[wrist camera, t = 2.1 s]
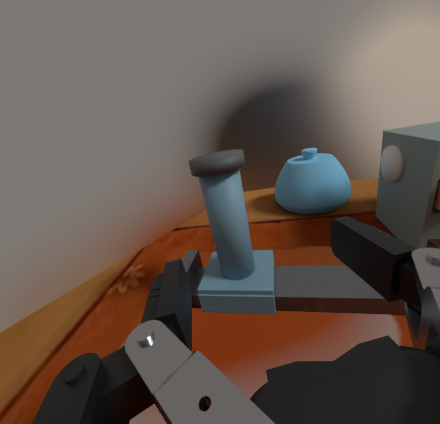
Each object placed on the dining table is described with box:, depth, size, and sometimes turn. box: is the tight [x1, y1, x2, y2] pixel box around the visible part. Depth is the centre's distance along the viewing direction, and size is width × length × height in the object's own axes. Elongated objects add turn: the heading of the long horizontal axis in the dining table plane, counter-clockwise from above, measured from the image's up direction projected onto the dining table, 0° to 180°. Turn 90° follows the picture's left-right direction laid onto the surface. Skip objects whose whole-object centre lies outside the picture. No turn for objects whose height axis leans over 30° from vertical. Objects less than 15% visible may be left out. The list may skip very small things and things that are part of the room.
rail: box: [182, 239, 440, 315], centre depth 24 cm, size 28×5×5 cm, turn 78°
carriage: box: [189, 150, 276, 315], centre depth 23 cm, size 8×7×16 cm
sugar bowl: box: [275, 148, 351, 214], centre depth 45 cm, size 15×15×12 cm
